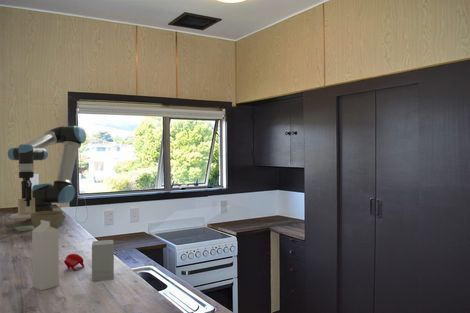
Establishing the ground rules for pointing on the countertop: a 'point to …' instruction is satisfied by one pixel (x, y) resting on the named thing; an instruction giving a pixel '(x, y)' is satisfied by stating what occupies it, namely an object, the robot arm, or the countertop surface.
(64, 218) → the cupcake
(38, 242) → the milk
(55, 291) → the countertop surface
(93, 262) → the supplement box
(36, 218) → the planter bowl
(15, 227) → the mat
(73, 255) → the cap
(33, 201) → the lid
